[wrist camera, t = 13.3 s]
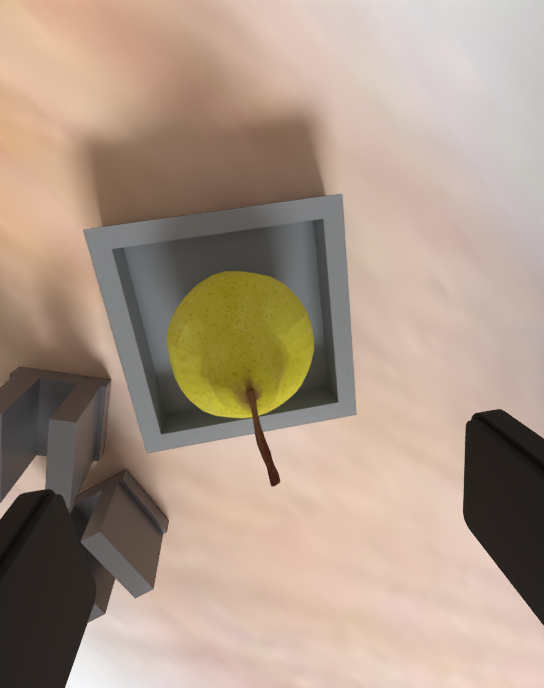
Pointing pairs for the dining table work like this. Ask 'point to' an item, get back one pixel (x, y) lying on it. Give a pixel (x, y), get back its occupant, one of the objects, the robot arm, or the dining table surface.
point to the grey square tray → (209, 259)
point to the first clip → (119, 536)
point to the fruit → (241, 348)
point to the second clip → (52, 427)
